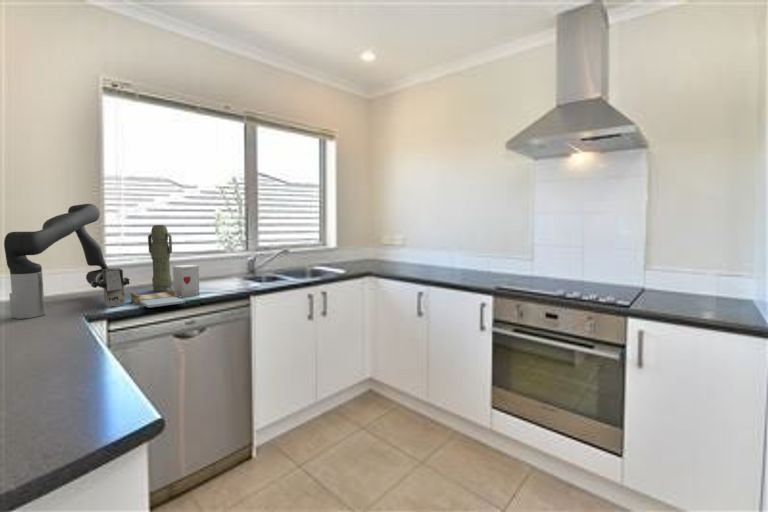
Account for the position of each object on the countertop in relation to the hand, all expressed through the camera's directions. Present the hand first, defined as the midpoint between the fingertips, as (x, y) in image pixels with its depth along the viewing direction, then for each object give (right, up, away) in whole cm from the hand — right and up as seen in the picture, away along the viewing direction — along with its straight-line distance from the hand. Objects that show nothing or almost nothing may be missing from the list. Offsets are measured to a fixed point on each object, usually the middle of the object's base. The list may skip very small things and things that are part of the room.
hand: (114, 284), depth 172 cm
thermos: (-1, -6, +39) cm, 39 cm away
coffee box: (-2, -10, +2) cm, 10 cm away
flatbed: (+11, -9, +10) cm, 18 cm away
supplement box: (+19, -7, +25) cm, 33 cm away
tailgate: (+16, -7, +6) cm, 18 cm away
